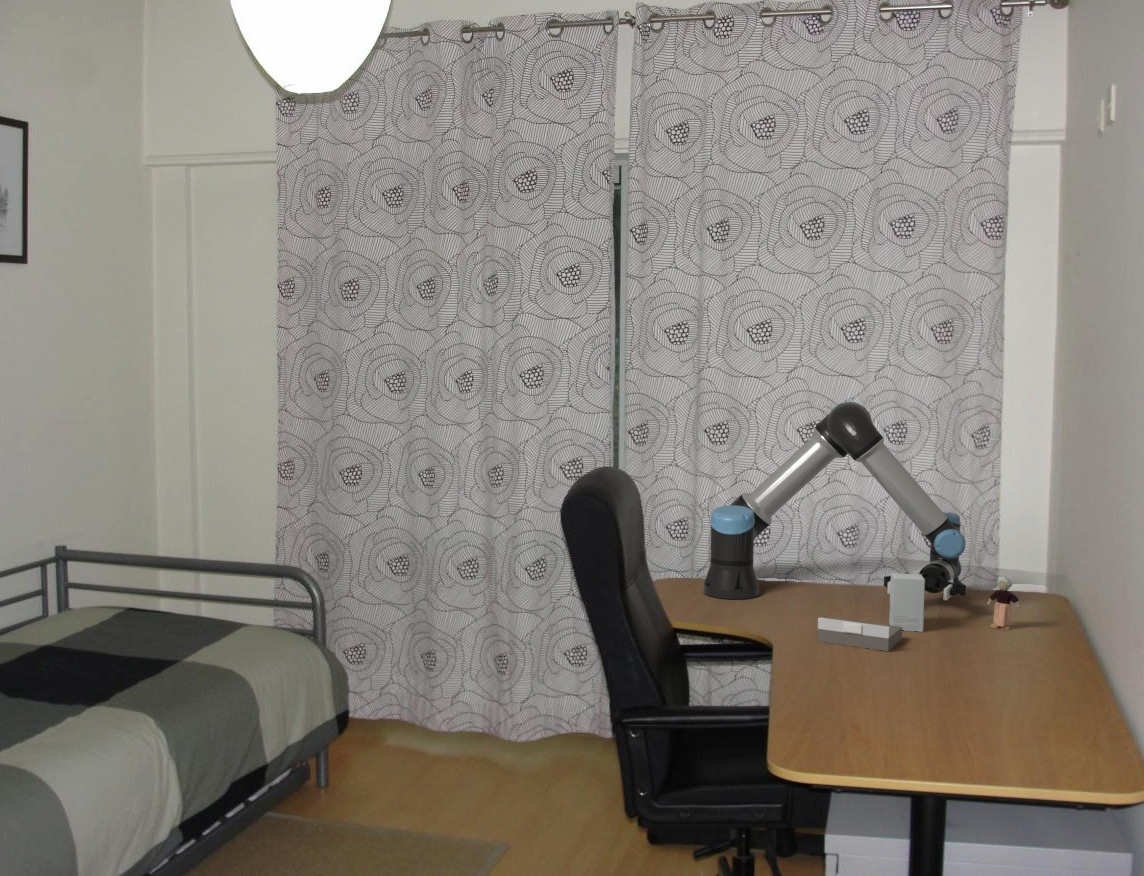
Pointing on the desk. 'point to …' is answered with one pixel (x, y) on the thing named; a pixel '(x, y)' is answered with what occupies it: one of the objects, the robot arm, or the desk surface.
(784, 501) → the robot arm
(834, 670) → the desk surface
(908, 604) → the supplement box
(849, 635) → the shelf board
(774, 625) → the desk surface
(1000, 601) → the grandmother figurine
